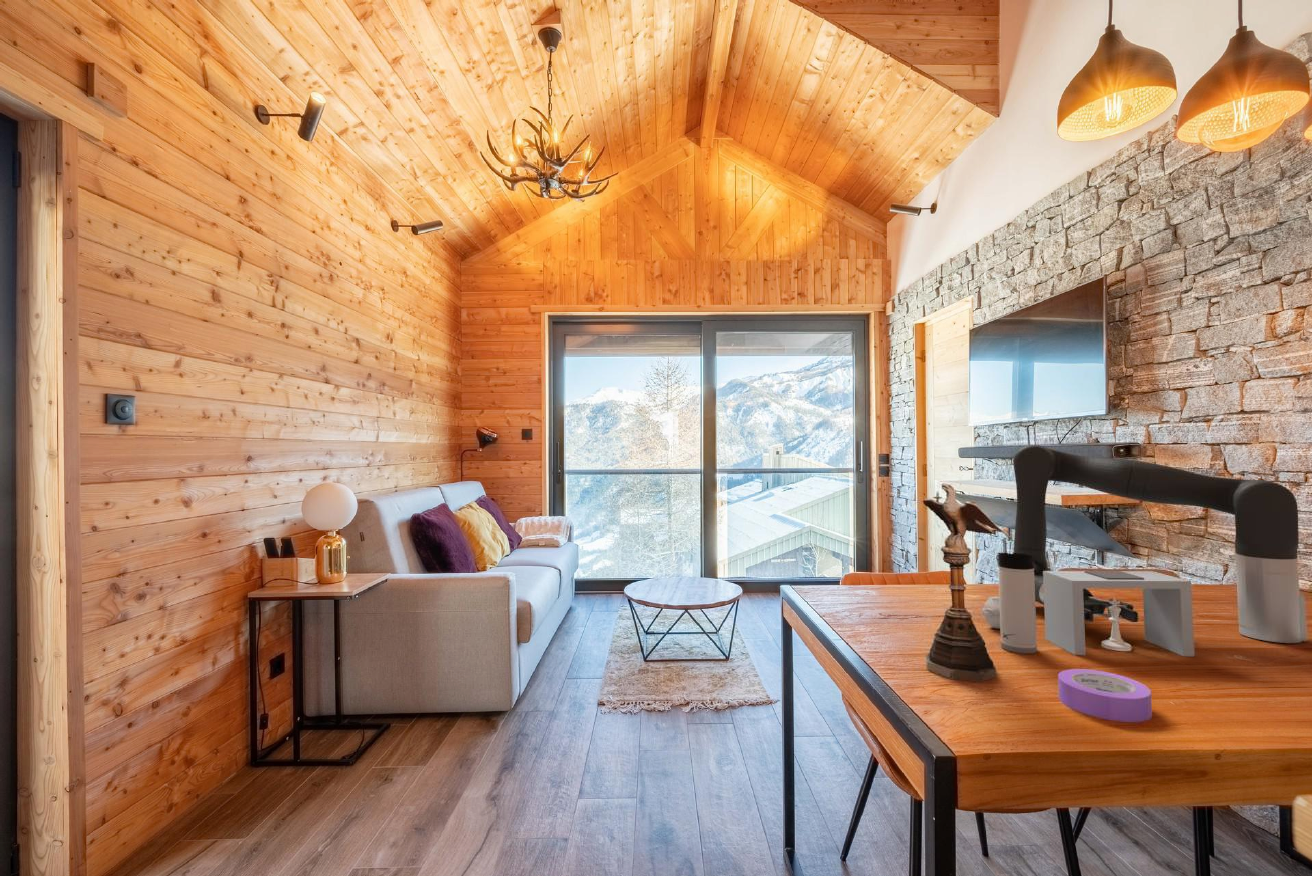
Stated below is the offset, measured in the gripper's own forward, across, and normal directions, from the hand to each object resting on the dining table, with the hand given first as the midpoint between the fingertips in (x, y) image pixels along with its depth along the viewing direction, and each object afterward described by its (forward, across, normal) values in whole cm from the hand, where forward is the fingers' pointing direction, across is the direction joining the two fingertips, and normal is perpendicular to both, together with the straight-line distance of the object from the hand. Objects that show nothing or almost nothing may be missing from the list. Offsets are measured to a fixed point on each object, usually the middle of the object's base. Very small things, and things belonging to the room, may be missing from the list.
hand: (1113, 617), depth 120 cm
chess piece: (0, 0, +6) cm, 6 cm away
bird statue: (+12, -35, +6) cm, 38 cm away
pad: (0, 0, -8) cm, 9 cm away
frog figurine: (-13, -17, +6) cm, 22 cm away
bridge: (0, 0, +6) cm, 6 cm away
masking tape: (+30, -21, +6) cm, 37 cm away
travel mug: (+2, -20, +6) cm, 21 cm away
